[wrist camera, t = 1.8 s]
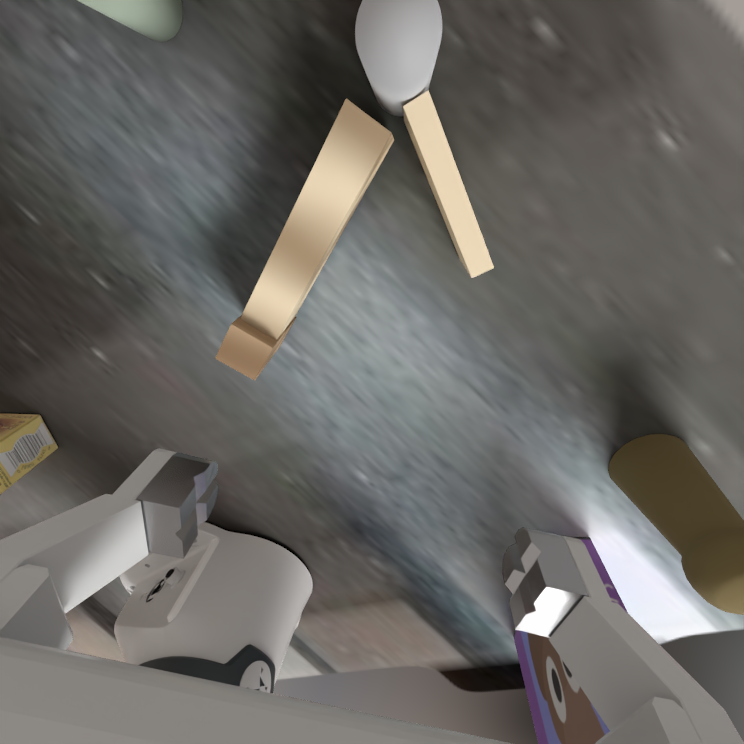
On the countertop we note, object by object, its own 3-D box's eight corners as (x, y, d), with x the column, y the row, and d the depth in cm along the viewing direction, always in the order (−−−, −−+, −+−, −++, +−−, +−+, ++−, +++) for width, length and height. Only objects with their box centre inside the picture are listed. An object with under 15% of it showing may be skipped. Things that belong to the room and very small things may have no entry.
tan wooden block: (355, 111, 20) (340, 92, 15) (395, 141, 20) (392, 131, 16) (248, 326, 26) (215, 358, 22) (280, 345, 27) (254, 380, 22)
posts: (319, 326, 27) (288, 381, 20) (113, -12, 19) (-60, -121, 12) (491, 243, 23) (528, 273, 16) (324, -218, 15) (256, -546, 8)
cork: (609, 496, 32) (697, 634, 22) (606, 442, 30) (704, 573, 20) (688, 483, 31) (817, 625, 21) (692, 426, 28) (841, 558, 19)
